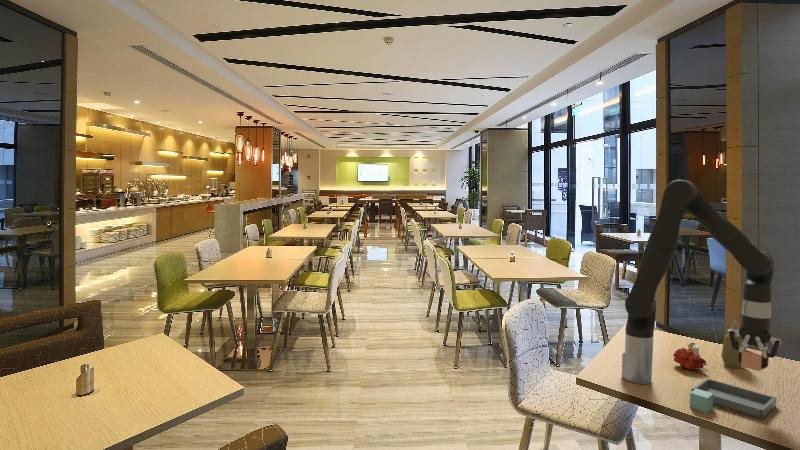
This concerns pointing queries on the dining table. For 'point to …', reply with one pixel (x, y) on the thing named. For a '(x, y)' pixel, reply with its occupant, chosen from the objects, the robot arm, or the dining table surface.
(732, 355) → the squeeze bottle
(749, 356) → the terracotta block
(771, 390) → the dining table surface
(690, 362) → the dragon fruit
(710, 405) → the teal block
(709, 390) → the tray
